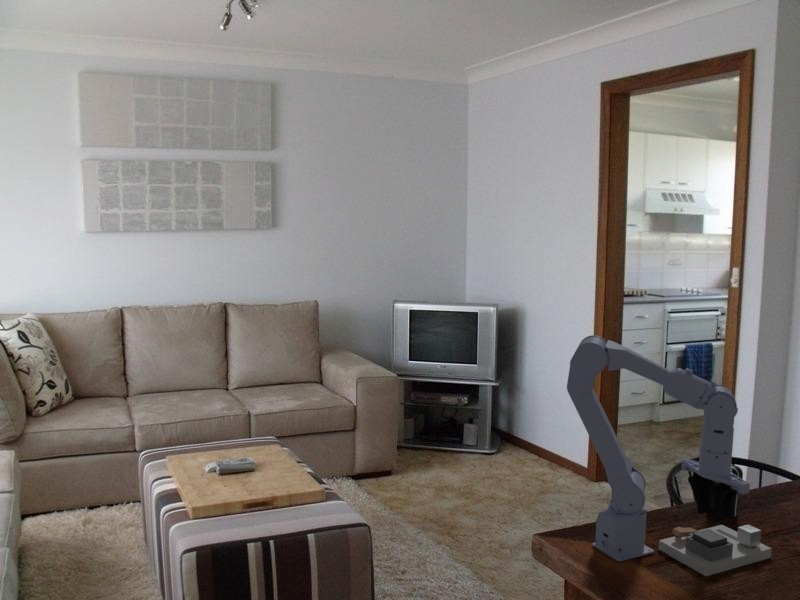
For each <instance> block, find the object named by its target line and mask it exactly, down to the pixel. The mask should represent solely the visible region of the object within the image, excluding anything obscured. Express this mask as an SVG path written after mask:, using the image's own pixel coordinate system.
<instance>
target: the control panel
mask: <svg viewBox="0 0 800 600" xmlns="http://www.w3.org/2000/svg"><path fill="white" fill-rule="evenodd" d="M675 528H683V527H682V526H676V527H675ZM706 529H710V530H712V531H714V532H716V533H718V534H720V535H722V536H724V537H726V538H727V544H725V545H721V546H718V547H714V548H709V547H707V546H705V545H703V544H702V543H700V542H698V541H696V540H694V539H692V538H693V533H692V534H689V536H688V537H678V536H677V535H675V534H674V536H671V537H667V538H663V539H659V541H658V550H659V551H660V550H661V551H660V552H662V551H663V552H662V553H664V552H665V553H664V554H666V555H667V554H668V556H669V557H671V558H673V559H675V560H676V561H678V562H679V563H682V564H684V565H685V566H687V567H689V568H690V569H693V570H694V571H696V572H697V573H699V574H701V575H703V576H705V577H708V576H709V577H710V576H712V575H716V574H719V573H722V572H727V571H730V570H733V569H736V568H739V567H744V566H746V565H750V564H753V563H756V562H761V561H765V560H768V559H771V558H772V547H769V546H768V545H765V544H764V543H762V542H760V545H757V546H753V547H748V546H746V545H744V544H742V543H739V542H737V534H738V531H737V530H734V529H733V528H730V527H728V526H726V525H723V524H719V525H715V526H712V527H707V528H703V529H700V530H698V531H702V530H706Z"/></svg>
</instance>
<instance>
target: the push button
mask: <svg viewBox="0 0 800 600" xmlns="http://www.w3.org/2000/svg"><path fill="white" fill-rule="evenodd" d="M705 529H706V530H703V529H701V530H702V531H699V530H697V531H698V532H694V533H693V538H692V539H694V540H696V541H698V542H700V543H702V544H703V545H705V546H707V547H709V548H714V547H718V546H721V545H725V544H727V538H726V537H724V536H722V535H720V534H718V533H716V532H714V531H712V530H710V529H707V528H705Z"/></svg>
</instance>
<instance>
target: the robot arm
mask: <svg viewBox="0 0 800 600" xmlns="http://www.w3.org/2000/svg"><path fill="white" fill-rule="evenodd" d="M606 366H608V372H610V371H611V372H612V371H616V370H622V369H624V370H627V371H629V372H632V373H634V374H636V375H638V376H640V377H644V378H646V379H648V380H650V381H652V382H655V383H656V384H659V385H662V387H663V390H664V391H665V392H664V393H665V394H666V395H667V396H670V397H672V398H674V399H676V400H678V401H679V402H683V403H684V404H685V405H686V404H687V405H688V406H690V407H692V408H694V409H697V410H703V418H702V419H703V420H702V421H703V422H702V424H701V430H700V444H699V445H700V446H699V457H698V458H699V460H698V461H697V460H694V459H691V458H685V459H682V460H681V467H680V469H681V470H682V471H685V472H686V471H688V472H690V473H693V474H692V476H689V477H687V482H688V484H689V485H690V487H691V489H692V491H693V495H694V498H695V501H696V506H697V507H696V508H697V512H698V514H700V515H704V514H707V513H709V511H710V509H709V508H710V499H711V492H712V494H713V500H714V511H713V520H714V521H715V522H718V523H719V522H722V521H725V518H726V516H727V515H726V513H727V511H728V508H729V506H730V504H731V502H732V501H733V499H734V498H735V496H736V495H737V494H738V493H739V495H746V494H749V493H750V489H751V488H750V486H751V485H750V484H751V483H750V482H748V481H747V480H744V479H741V478H739V477H738V476H736V475H735V474H733V473H732V469H731V464H732V457H733V445H734V433H735V431H734V430H735V429H734V423H735V417H736V416H737V414H738V412H739V408H738V406H737V401H736V398H735V397H734V394H733V392H732V391H731V390H730V389H729V388H727V387H726V386H725V385H724V384H718V383H717V381H714V380H710V381H708V380H706V379H704V378H703V377H702V378H701V377H699V376H698V375H695V374H694V373H693V370H692V369H690V368H688V367H686V368H685V369H683V368H681V367H678V368H677V367H676V368H675V369H674V368H673V369H668V368H666V367H664V366H662V365H660V364H659V363H656V362H655V361H653V360H651V359H649V358H647V357H645V356H643V355H641V354H639V353H637V352H635V351H634V350H632V349H630V348H628V347H626V346H623V345H622V344H620V343H617V342H615V341H613V340H609V339H607V340H606V339H605V338H604V337H602V336H600V335H595V334H593V335H588V336H586V337H584V338H583V339H582V340H581V341H580V343H579V344H578V347H577V348H576V350H575V351H574V354H573V355H572V357H571V359H570V361H569V371H568V377H567V383H566V390H567V393H568V395H569V397H570V399H571V401H572V404H573V405H574V407H575V409H576V411H577V414H578V416H579V418H580V420H581V421H582V424H583V426H584V428H585V430H586V432H587V434H588V436H589V438H590V439H589V440H591V442H592V445H593V446H594V449H595V451H596V453H597V455H598V457H599V459H600V461H601V464H602V465H603V467H604V469H605V473H606V477H607V481H608V482H607V483H608V484H609V486H610V490H611V499H610V500H609V505H608V506H607V508H606V509H604V510H603V511H601V512H599V513H598V515H597V516H596V520H595V521H596V522H595V537H594V538H595V539H594V540H595V542H592V546H593V547H594V548H595V549H597V550H599V551H600V552H602V553H603V554H605V555H607V556H608V557H610V558H612V559H613V560H615V561H617V562H623V561H628V560H632V559H636V558H639V557H643V556H647V555H650V554H651V555H652V554H653V553H655V550H654V549H652V548H651V547H649V546H647V545H646V544H645V543H646V528H647V526H646V525H647V511H648V510H647V509H648V506H647V504H646V496H645V490H646V486H647V485H646V483H647V482H646V479H645V477H644V475H643V474H642V473H641V472H640V471H639V470H638V469H637V468H636V467H635V466H634V465H633V463H632V462H633V461H631V460H630V458H628V456H627V455H626V453H625V451H624V448H623V447H622V444H621V442H620V440H619V439H618V436H617V435H616V432H615V430H614V428H613V426H612V423H611V421H610V419H609V418H608V416H607V414H606V412H605V410H604V408H603V405H602V403H601V402H600V399H599V397H598V395H597V393H596V390H595V389H594V383H595V381H596V379H597V376H599V374H601V373H602V371H603V370H604V369H605V367H606ZM714 482H717V483H719V486H718V485H717V486H713V485H714Z"/></svg>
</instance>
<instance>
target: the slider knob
mask: <svg viewBox="0 0 800 600" xmlns="http://www.w3.org/2000/svg"><path fill="white" fill-rule="evenodd" d="M737 532H738V534H737V542H739V543H742V544H744V545H746V546H748V547H753V546H757V545H760V543H761V536H762V530H761V529H759V528H757V527H755V526H753V525H751V524H745V525H740V526H738V527H737Z"/></svg>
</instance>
